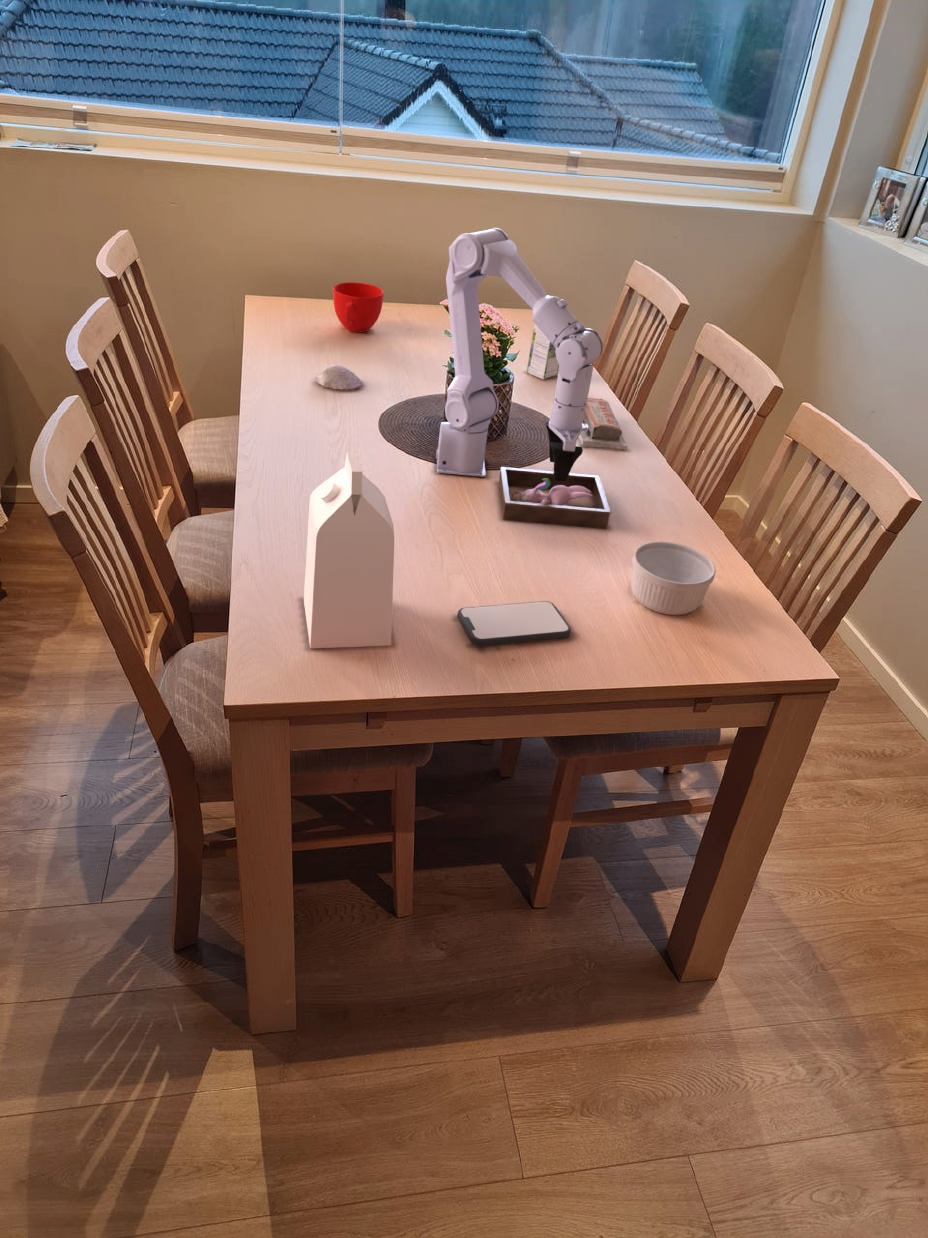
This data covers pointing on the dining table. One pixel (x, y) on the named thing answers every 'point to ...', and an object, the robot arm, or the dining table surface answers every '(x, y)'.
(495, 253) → the robot arm
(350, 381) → the seashell
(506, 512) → the tray
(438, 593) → the dining table surface
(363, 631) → the milk
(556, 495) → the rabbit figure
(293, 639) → the dining table surface
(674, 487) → the dining table surface
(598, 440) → the butter dish
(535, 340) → the syrup box
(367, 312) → the ceramic cup
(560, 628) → the black smartphone
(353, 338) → the dining table surface
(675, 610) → the ramekin
